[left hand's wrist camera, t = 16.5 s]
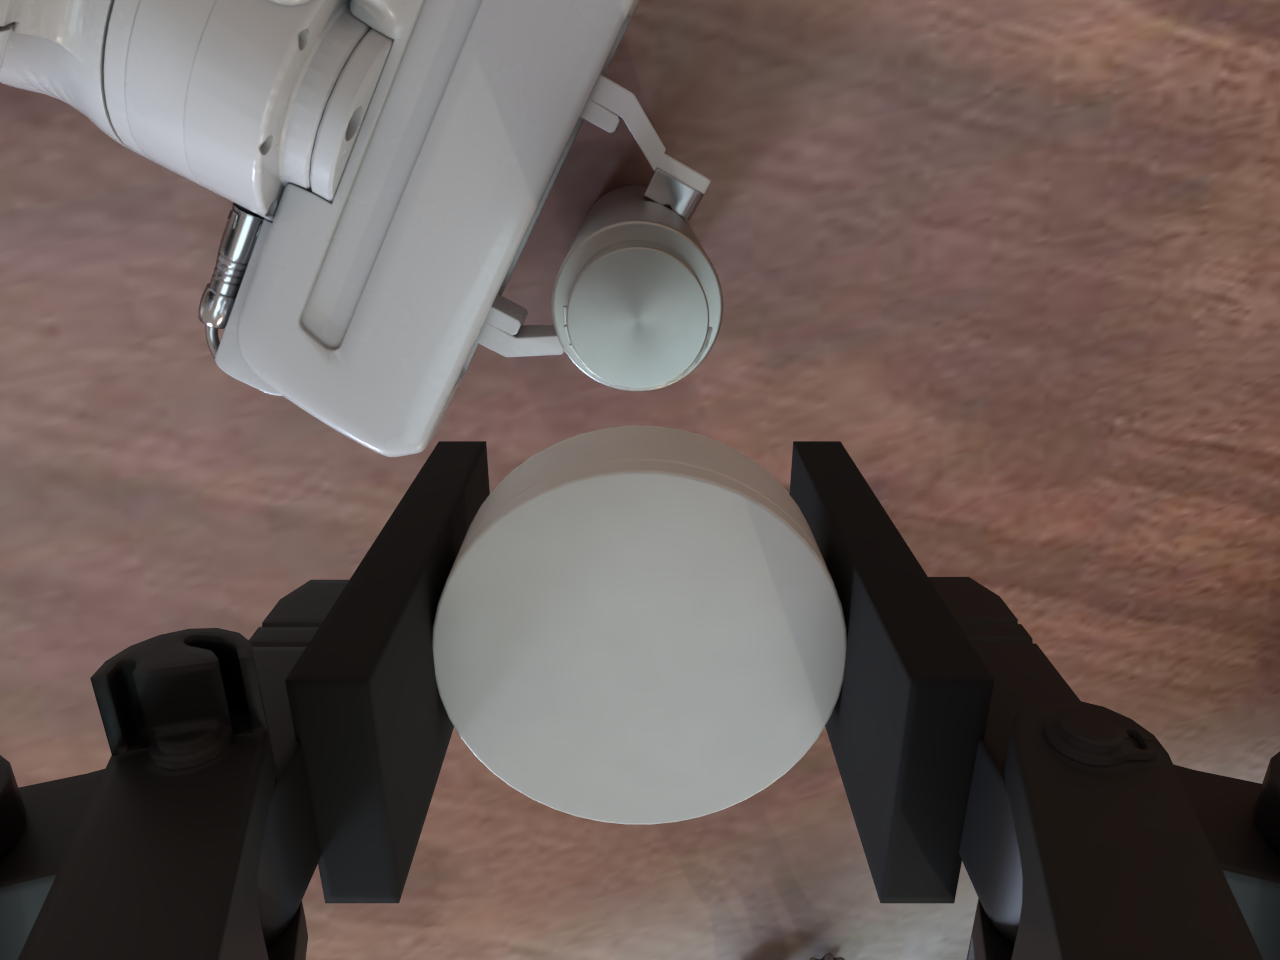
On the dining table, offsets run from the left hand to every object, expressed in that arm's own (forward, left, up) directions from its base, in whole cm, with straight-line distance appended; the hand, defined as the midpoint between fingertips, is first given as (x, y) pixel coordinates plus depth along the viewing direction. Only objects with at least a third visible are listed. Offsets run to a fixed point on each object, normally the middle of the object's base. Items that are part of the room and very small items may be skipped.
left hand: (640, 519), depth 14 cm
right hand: (0, -1, -18) cm, 18 cm away
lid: (0, 0, +4) cm, 4 cm away
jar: (0, -2, -24) cm, 24 cm away
